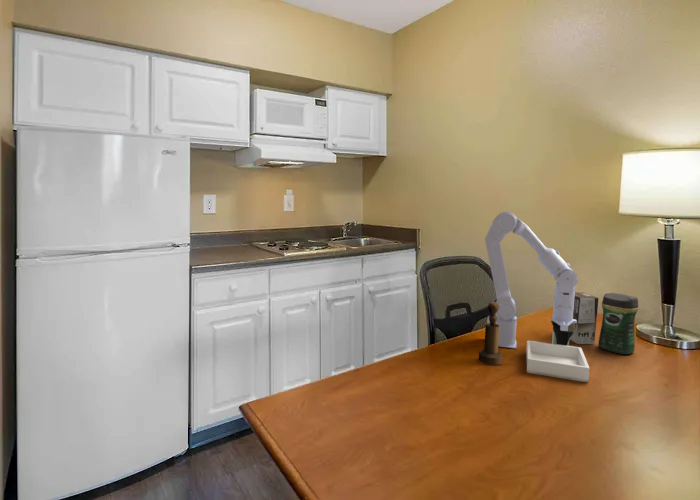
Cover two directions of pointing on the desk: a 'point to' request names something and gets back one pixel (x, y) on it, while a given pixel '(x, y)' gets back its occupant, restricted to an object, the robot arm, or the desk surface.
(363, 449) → the desk surface
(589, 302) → the coffee box
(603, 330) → the coffee jar
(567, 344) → the green block
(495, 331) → the wooden pepper mill
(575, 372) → the white bin
